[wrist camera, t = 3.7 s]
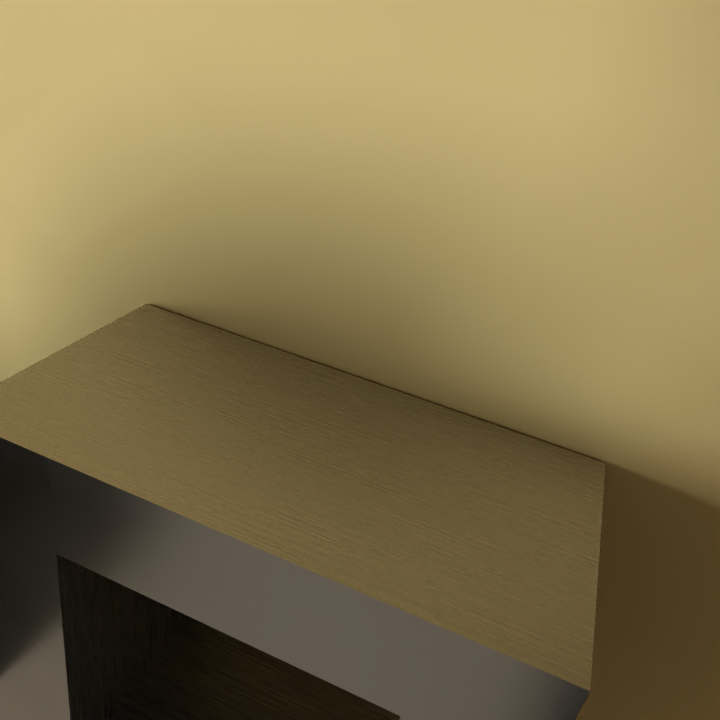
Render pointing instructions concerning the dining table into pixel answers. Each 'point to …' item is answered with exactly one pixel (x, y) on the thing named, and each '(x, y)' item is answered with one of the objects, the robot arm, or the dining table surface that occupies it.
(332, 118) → the dining table surface
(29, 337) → the dining table surface
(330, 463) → the grey square ring
